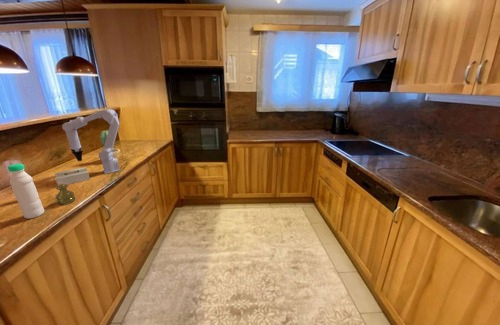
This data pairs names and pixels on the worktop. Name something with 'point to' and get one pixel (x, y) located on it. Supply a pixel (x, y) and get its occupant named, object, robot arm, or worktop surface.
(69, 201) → the olive green lumpy piece
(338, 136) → the worktop surface
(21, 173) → the white bottle
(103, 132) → the potted cactus
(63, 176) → the box
